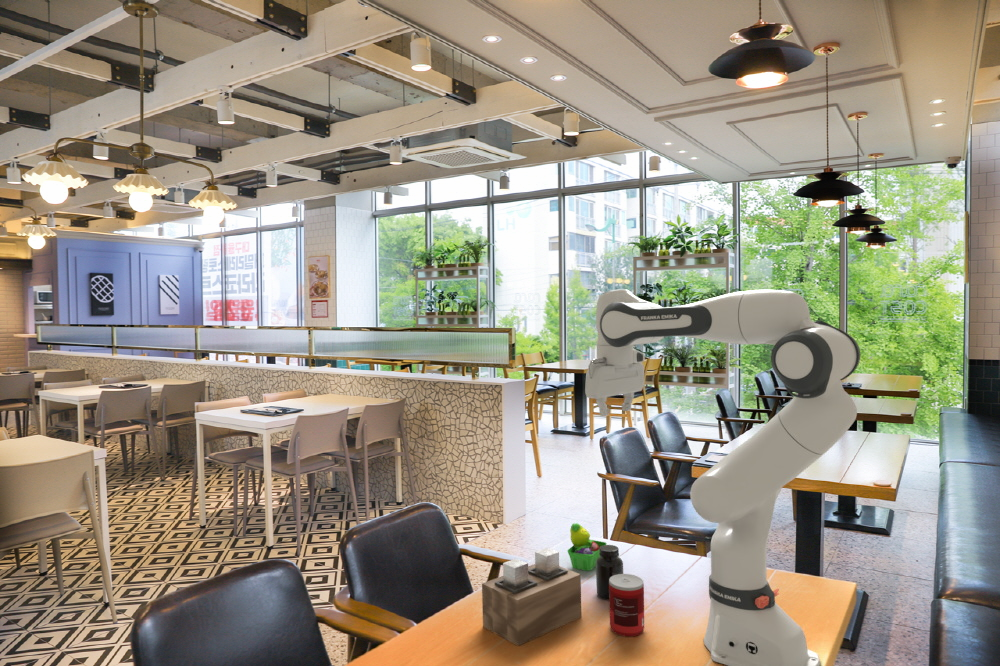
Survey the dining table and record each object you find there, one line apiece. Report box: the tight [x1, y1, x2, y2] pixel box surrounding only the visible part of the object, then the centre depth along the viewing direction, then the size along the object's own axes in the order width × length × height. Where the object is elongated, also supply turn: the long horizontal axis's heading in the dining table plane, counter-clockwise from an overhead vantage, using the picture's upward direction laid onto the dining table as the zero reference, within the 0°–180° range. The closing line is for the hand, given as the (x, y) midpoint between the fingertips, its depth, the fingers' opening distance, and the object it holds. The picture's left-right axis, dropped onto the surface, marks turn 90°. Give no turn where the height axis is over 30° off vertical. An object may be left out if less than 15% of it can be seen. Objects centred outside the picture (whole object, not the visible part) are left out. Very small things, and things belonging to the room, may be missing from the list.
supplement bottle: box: [595, 544, 624, 601], centre depth 166 cm, size 7×7×12 cm
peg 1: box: [502, 558, 529, 590], centre depth 149 cm, size 4×4×9 cm
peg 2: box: [534, 547, 560, 577], centre depth 156 cm, size 4×4×9 cm
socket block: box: [481, 563, 582, 647], centre depth 153 cm, size 12×20×11 cm, turn 131°
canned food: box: [608, 573, 645, 638], centre depth 148 cm, size 8×8×11 cm
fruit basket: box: [567, 522, 608, 572], centre depth 187 cm, size 11×9×11 cm
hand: (615, 413), depth 161 cm, fingers open, 8 cm apart
